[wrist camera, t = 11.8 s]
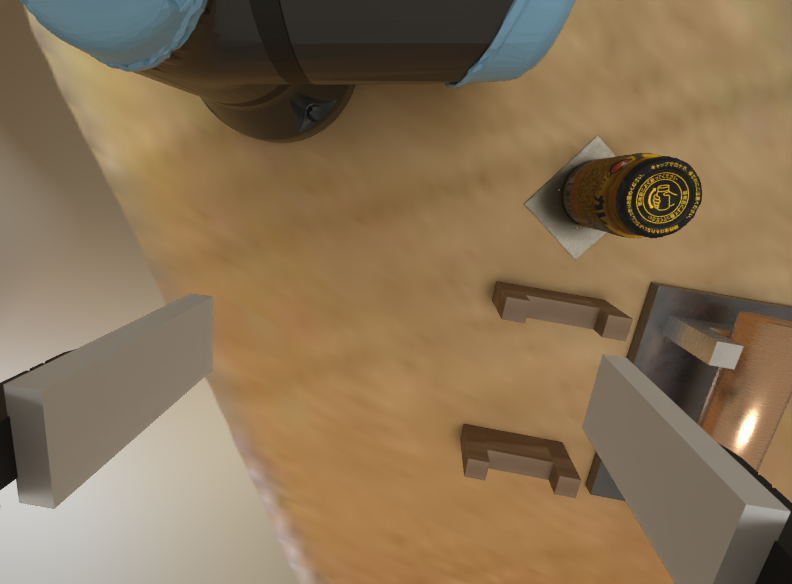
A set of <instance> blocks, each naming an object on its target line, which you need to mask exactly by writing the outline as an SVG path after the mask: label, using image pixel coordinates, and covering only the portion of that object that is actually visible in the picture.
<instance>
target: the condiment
mask: <svg viewBox="0 0 792 584" xmlns="http://www.w3.org/2000/svg"><path fill="white" fill-rule="evenodd" d="M558 189H560V191H558ZM701 200H702V188H701V182H700V179H699V177H698V176H697V174H696V172H695V171H694V170H693V168H692V167H691V166H690V165H689V164H687V163H686V162H684V161H681V160H679V159H677V158H672V157H669V156H660V155H655V154H651V153H636V154H632V155H624V156H617V157H616V156H615V155H614V154H613V152H612V151H611V150H610V149H609V147H608V146H607V145H606V144H605V143H604V142H603V141H602V139H601V138H600V137H599V136H597V137H596V138H595V139H594V140H593V141H592V142H591V143H589V144H588V145H587V146H586V147H585V148H584V149H583V150H582V151H581V152H580V153H579V154H578V155H577V156H575V157H574V158H573V159H572V160H571V161H570V162H569V163H568V164H567V165H566V166H565V167H564V168H563V169H561V170H560V171H559V172H558V173H557V174H556V175H555V176H554V177H553V178H552V179H551V180H550V181H549V182H548V183H547V184H545V185H544V186H543V187H542V188H541V189H540V190H539V191H538V192H537V193H536V194H535V195H534V196H533V197H532V198H531V199H530V200H528V201H527V202H526V203H525V205H526V206H527V207H528V209H529V210H530V211H531V212H532V213H533V214H534V215H535V216H536V217H537V218H538V219H539V221H540V222H541V223H542V224H543V225H544V226H545V227H546V228H547V229H548V230H549V231H550V233H551V234H552V235H553V236H554V237H555V238H556V239H557V240H558V241H559V242H560V243H561V244H562V245H563V247H564V248H565V249H566V250H567V251H568V252H569V253H570V254H571V255H572V256H573V257H574V258H575V259H576V258H577V257H579V256H580V255H581V254H582V253H583V252H585V251H586V250H587V249H588V248H589V247H590V246H592V245H593V244H594V243H595V242H596V241H597V240H598V239H600V238H601V237H602V236H603V235H604V234H605V233H607V232H608V233H610V234H614V235H618V236H621V237H628V238H642V237H649V238H658V237H663V236H666V235H670V234H673V233H675V232H677V231H678V230H680V229H681V228H682V227H684V226H685V225H686V224H687V223H688V222H689V221H690V220H691V219H692V218H693V217H694V215H695V213H696V211H697V209H698V207H699V205H700V204H701ZM580 226H582V227H583V228H580ZM575 227H579V228H578V229H575Z"/></svg>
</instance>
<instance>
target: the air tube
mask: <svg viewBox="0 0 792 584" xmlns="http://www.w3.org/2000/svg"><path fill="white" fill-rule="evenodd" d="M729 339H731V340H733V341H735V342H737V343H739V344H741V345H743V346H744V347H743V349H742V352H741V354H740V357H739V359H738V362H737V364H736V367H735V369H729V368H723V367H717V370H716V373H715V375H714V378H713V380H712V383H711V386H710V388H709V391H708V393H707V396H706V398H705V401H704V404H703V406H702V409H701V411H700V414H699V417H698V419H697V422H696V423H697V424H698V425H699V426H700V427H701V428H702V429H703V430H704V431H705V432H706V433H707V434H708V435H709V436H711V437H712V438H713V439H714V440H715V441H716V442H717V443H720V444H721V445H723V446H724V447H726V448H727V449H729V450H731V451H732V452H734V453H735V454H737V455H739V456H740V457H742V458H743V459H744V460H745V461H746V462H747V463H748V464H749V465H750V466H752V467H753V468H754V469H755V470H756V471H757V472H758V469H759V467H760V465H761V463H762V460H763V458H764V456H765V454H766V451H767V449H768V447H769V445H770V442H771V440H772V438H773V436H774V433H775V431H776V429H777V427H778V424H779V422H780V420H781V418H782V415H783V413H784V411H785V409H786V406H787V404H788V402H789V399H790V397H791V395H792V322H791V321H787V320H784V319H780V318H776V317H772V316H768V315H763V314H758V313H753V312H745V311H740V312H739V313H738V316H737V318H736V321H735V324H734V326H733V329H732V331H731V334H730V336H729Z"/></svg>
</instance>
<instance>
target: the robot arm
mask: <svg viewBox="0 0 792 584" xmlns="http://www.w3.org/2000/svg"><path fill="white" fill-rule="evenodd" d="M19 1H20V2H21V3H22V4H24V5H25V6H26V7H27V9H28V10H29V12H31V13H32V14H33V15H34V16H35V17H36V19H37V20H38V22H39V23H40V24H41V25H43V26H44V27H45V28H46V29H47V30H49V31H50V32H51V33H53V34H54V35H55V36H57V37H58V38H60V39H61V40H63V41H65V42H66V43H68V44H70V45H72V46H74V47H76V48H78V49H80V50H82V51H84V52H86V53H88V54H90V55H91V56H92V57H95V58H96V59H97V60H98V61H100V62H102V63H104V64H106V65H107V66H109V67H112V68H117V69H122V70H124V71H128V72H134V73H137V74H140V75H143V76H145V77H148V78H151V79H153V80H156V81H159V82H162V83H164V84H167V85H170V86H173V87H175V88H178V89H181V90H183V91H186V92H189V93H192V94H194V95H197V96H200V97H201V99H202V100H203V102H204V103H205V104H206V106H207V107H208V108H209V109H210V110H211V111H212V112H213V113H214V114H215V115H216V116H217V117H218V118H219V119H220V120H221V121H223V122H224V123H225V124H227V125H228V126H230V127H231V128H233V129H234V130H236V131H238V132H240V133H242V134H244V135H247V136H249V137H253V138H256V139H260V140H264V141H268V142H276V143H287V142H294V141H299V140H303V139H306V138H308V137H311V136H313V135H315V134H317V133H318V132H320V131H322V130H323V129H324V128H326V127H327V126H328V125H330V124H331V123H332V122H333V121H334V120H335V119H336V118H337V116H338V115H339V114H340V113H341V111H342V110H343V109H344V107H345V106H346V104H347V102H348V100H349V99H350V96H351V94H352V92H353V89H354V87H355V84H424V83H445V85H446V86H447V87H451V88H458V87H460V86H463V85H466V84H468V83H477V82H495V81H508V80H512V79H515V78H518V77H520V76H521V75H523V74H524V73H525V72H527V71H528V70H530V69H532V68H533V67H534V66H536V65H537V64H538V63H539V62H540V61H541V60H542V58H543V57H544V56H545V55H546V53H547V52H548V51H549V49H550V48H551V46H552V45H553V43H554V42H555V40H556V38H557V37H558V35H559V33H560V31H561V30H562V28H563V26H564V24H565V22H566V20H567V18H568V16H569V14H570V11H571V9H572V7H573V5H574V3H575V0H19ZM212 338H213V297H212V296H205V295H199V294H192V293H191V294H189V295H187V296H185V297H183V298H181V299H179V300H177V301H175V302H172V303H170V304H168V305H166V306H164V307H162V308H160V309H158V310H156V311H154V312H152V313H150V314H148V315H146V316H144V317H142V318H140V319H137V320H135V321H134V322H131V323H129V324H127V325H125V326H123V327H121V328H119V329H117V330H115V331H113V332H111V333H109V334H107V335H104V336H102V337H100V338H98V339H96V340H94V341H92V342H90V343H88V344H86V345H84V346H82V347H80V348H78V349H75V350H72V351H68V352H64V353H62V354H60V355H58V356H56V357H53V358H51V359H49V360H47V361H46V362H45V364H44V363H41V364H39V365H37V366H35V367H33V368H30V371H24V372H22V373H20V374H18V375H16V376H14V377H12V378H10V379H8V380H5V381H3V382H1V383H0V490H1V489H2V488H4V487H5V486H7V485H8V484H9V483H11V482H12V481H13V480H15V479H16V481H17V489H18V496H19V502H20V503H24V504H30V505H35V506H41V507H47V508H53V509H55V508H56V507H57V506H58V505H59V504H60V503H61V502H63V501H64V500H65V499H66V498H67V497H68V496H69V495H70V494H72V493H73V492H74V491H75V490H76V489H77V488H78V487H80V486H81V485H82V484H83V483H84V482H85V481H86V480H88V479H89V478H90V477H91V476H92V475H93V474H94V473H96V472H97V471H98V470H99V469H100V468H101V467H102V466H103V465H104V464H106V463H107V462H108V461H109V460H110V459H111V458H112V457H114V456H115V455H116V454H117V453H118V452H119V451H121V450H122V449H123V448H124V447H125V446H126V445H127V444H129V443H130V442H131V441H132V440H133V439H134V438H135V437H136V436H138V435H139V434H140V433H141V432H142V431H143V430H144V429H146V428H147V427H148V426H149V425H150V424H151V423H152V422H153V421H155V420H156V419H157V418H158V417H159V416H160V415H161V414H163V413H164V412H165V411H166V410H167V409H168V408H169V407H171V406H172V405H173V404H174V403H175V402H176V401H177V400H178V399H179V398H181V397H182V396H183V395H184V394H185V393H187V392H188V391H189V390H190V389H191V388H192V387H193V386H194V385H196V384H197V383H198V382H199V381H200V380H201V379H202V378H204V377H205V376H206V375H207V374H208V373H209V372H210V371H212ZM582 428H583V430H584V432H585V433H586V435H587V437H588V438H589V440H590V442H591V443H592V445H593V447H594V448H595V450H596V452H597V453H598V455H599V457H600V459H601V460H602V462H603V464H604V465H605V467H606V469H607V470H608V472H609V474H610V475H611V477H612V479H613V480H614V482H615V484H616V485H617V487H618V489H619V490H620V492H621V494H622V495H623V497H624V499H625V501H626V502H627V504H628V506H629V507H630V509H631V511H632V512H633V514H634V516H635V517H636V519H637V521H638V522H639V524H640V526H641V527H642V529H643V531H644V532H645V534H646V536H647V538H648V539H649V541H650V543H651V544H652V546H653V548H654V549H655V551H656V553H657V554H658V556H659V558H660V559H661V561H662V563H663V564H664V566H665V568H666V569H667V571H668V573H669V574H670V576H671V578H672V580H673V581H674V583H675V584H792V503H791V502H790V501H789V500H788V499H787V498H786V497H784V496H783V495H782V494H781V493H780V492H779V491H778V490H777V489H776V488H772V485H771V484H770V483H769V482H768V481H767V480H766V479H765V478H764V477H762V476H761V475H758V472H757V471H756V470H755V469H754V468H753V467H752V466H750V465H749V464H748V463H747V462H746V461H745V460H744V459H743V458H742V457H740V456H739V455H737V454H735V453H734V452H732V451H731V450H729V449H727V448H726V447H724V446H723V445H721V444H720V443H717V442H716V441H715V440H714V439H713V438H712V437H711V436H709V435H708V434H707V433H706V432H705V431H704V430H703V429H702V428H701V427H700V426H699V425H698V424H697V423H696V422H695V421H693V420H692V419H691V418H690V417H689V416H688V415H687V414H686V413H685V412H684V411H683V410H682V409H681V408H680V407H679V406H677V405H676V404H675V403H674V402H673V401H672V400H671V399H670V398H669V397H668V396H667V395H666V394H665V393H664V392H662V391H661V390H660V389H659V388H658V387H657V386H656V385H655V384H654V383H653V382H652V381H651V380H650V379H649V378H648V377H646V376H645V375H644V374H643V373H642V372H641V371H640V370H639V369H638V368H637V367H636V366H635V365H634V364H633V363H632V362H630V361H629V360H628V359H627V358H625V357H618V356H611V355H604V354H603V355H602V358H601V362H600V366H599V369H598V373H597V376H596V380H595V383H594V387H593V391H592V394H591V398H590V401H589V405H588V409H587V412H586V416H585V419H584V423H583V426H582Z"/></svg>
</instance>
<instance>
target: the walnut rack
mask: <svg viewBox="0 0 792 584" xmlns="http://www.w3.org/2000/svg"><path fill="white" fill-rule="evenodd" d="M492 301H493V303H494V305H495V307H496V309H497V311H498V313H499V315H500V317H501V319H504V320H510V321H516V322H521V323H525V321H526V317H527V318H533V319H539V320H544V321H550V322H555V323H561V324H567V325H572V326H578V327H583V328H589V329H594V330H595V331H596V332H597V333H598V334H599V335H600V336H602V337H605V338H610V339H616V340H622V341H626V339H627V336H628V333H629V330H630V327H631V323H632V320H633V319H632V318H630V317H629V316H627V315H626V314H624V313H623V312H621V311H620V310H619V309H617V308H616V307H614V306H613V305H611V304H610V303H608V302H607V301H605V300H600V299H594V298H589V297H583V296H577V295H572V294H566V293H560V292H555V291H549V290H543V289H538V288H532V287H526V286H520V285H515V284H509V283H503V282H498V281H497V282H496V286H495V291H494V295H493V299H492ZM460 442H461V451H462V460H463V469H464V476H465V477H470V478H475V479H480V480H485V479H486V475H487V471H488V468H490V469H496V470H501V471H506V472H511V473H516V474H521V475H527V476H532V477H537V478H542V479H547V480H549V482H550V484H551V487H552V489H553V492H554V494H557V495H562V496H568V497H573V498H576V495H577V492H578V489H579V486H580V482H581V479H580V477H579V475H578V473H577V471H576V469H575V467H574V465H573V463H572V461H571V459H570V457H569V455H568V453H567V451H566V449H565V447H564V445H563V443H562V442H557V441H551V440H546V439H541V438H536V437H530V436H525V435H520V434H514V433H509V432H504V431H499V430H493V429H488V428H483V427H478V426H472V425H467V424H464V426H463V430H462V435H461V439H460Z"/></svg>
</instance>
